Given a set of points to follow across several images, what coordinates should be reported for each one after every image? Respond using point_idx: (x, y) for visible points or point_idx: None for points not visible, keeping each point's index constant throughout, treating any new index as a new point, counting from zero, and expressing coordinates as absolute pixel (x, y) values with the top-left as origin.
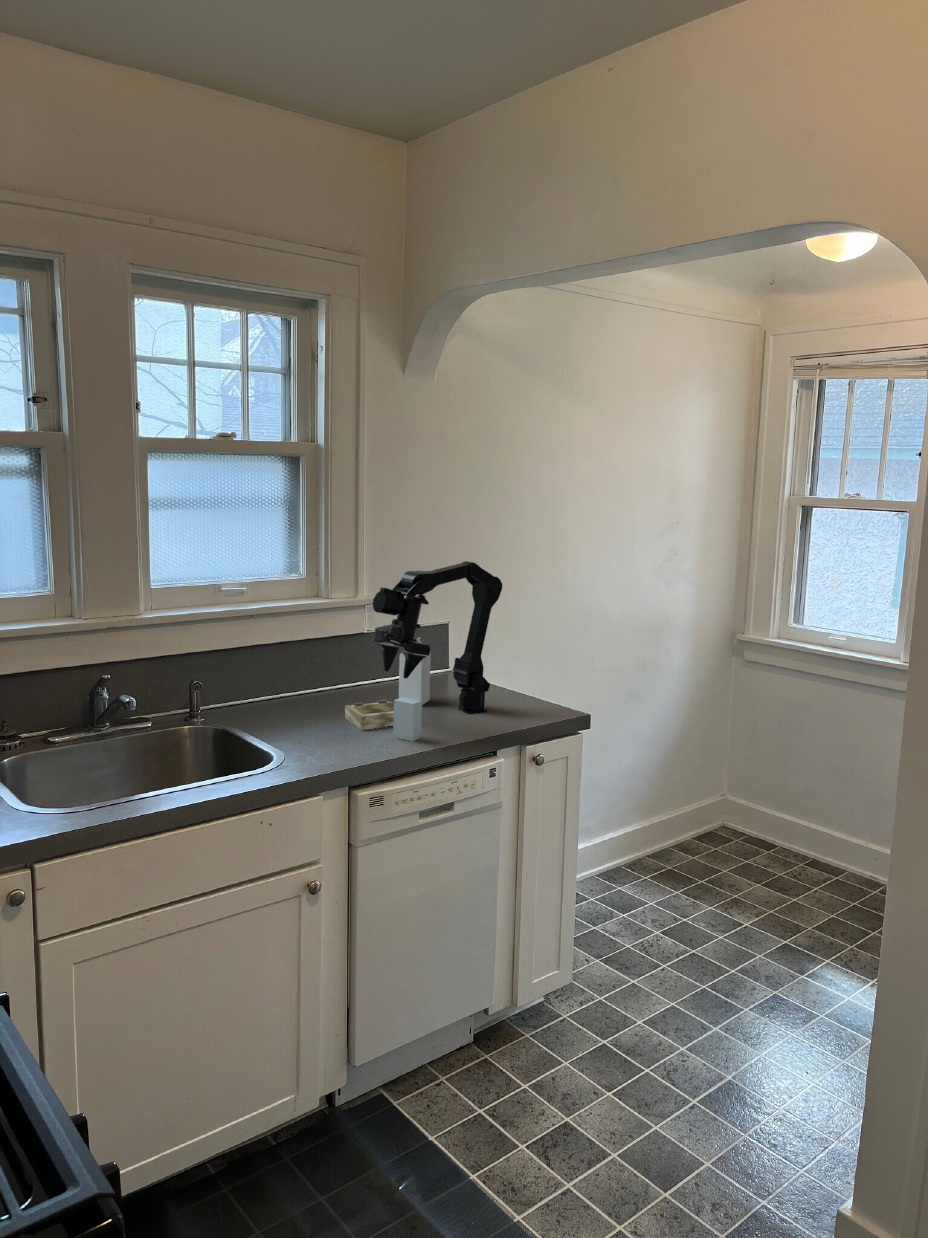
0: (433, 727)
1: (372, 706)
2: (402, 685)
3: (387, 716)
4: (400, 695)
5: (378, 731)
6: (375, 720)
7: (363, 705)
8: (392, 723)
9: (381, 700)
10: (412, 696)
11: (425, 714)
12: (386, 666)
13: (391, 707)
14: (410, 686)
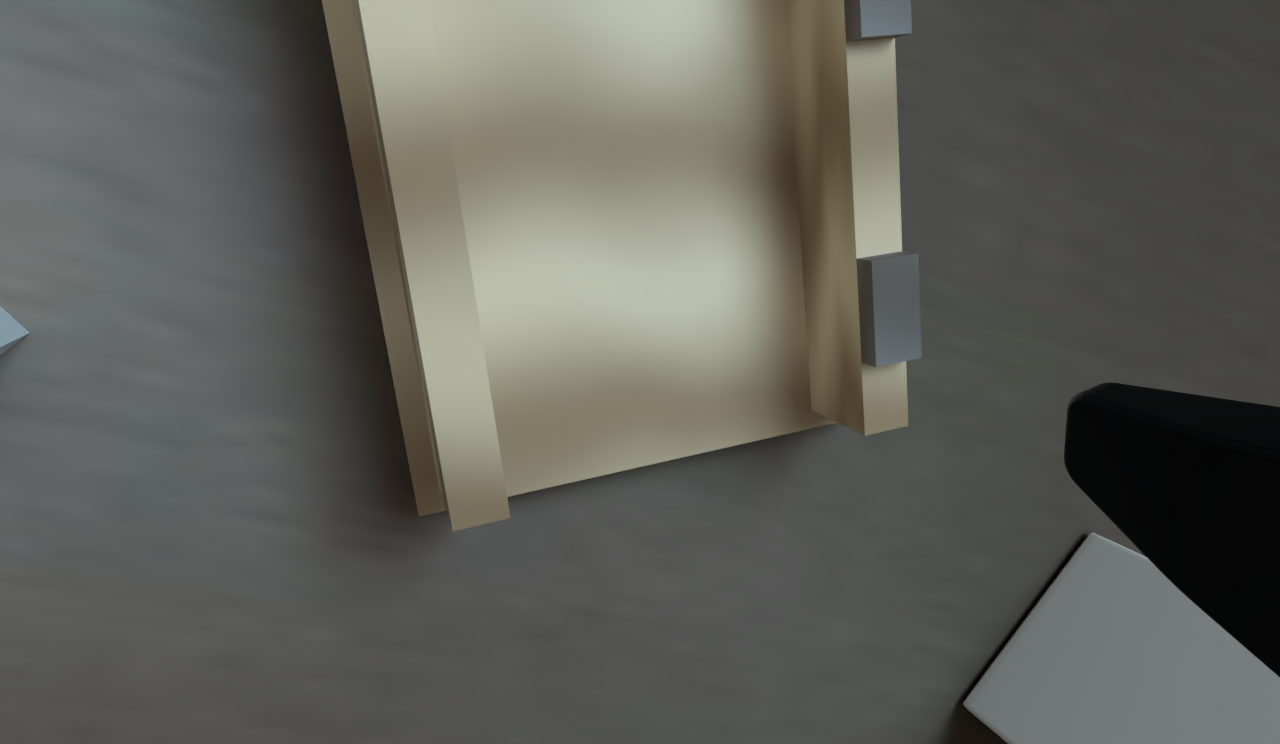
0: (254, 731)
1: (837, 171)
2: (1229, 640)
3: (398, 244)
4: (1143, 575)
5: (205, 68)
6: (364, 63)
7: (846, 41)
8: (380, 299)
9: (908, 305)
10: (1070, 678)
11: (728, 709)
12: (1180, 463)
13: (832, 406)
14: (1173, 715)
